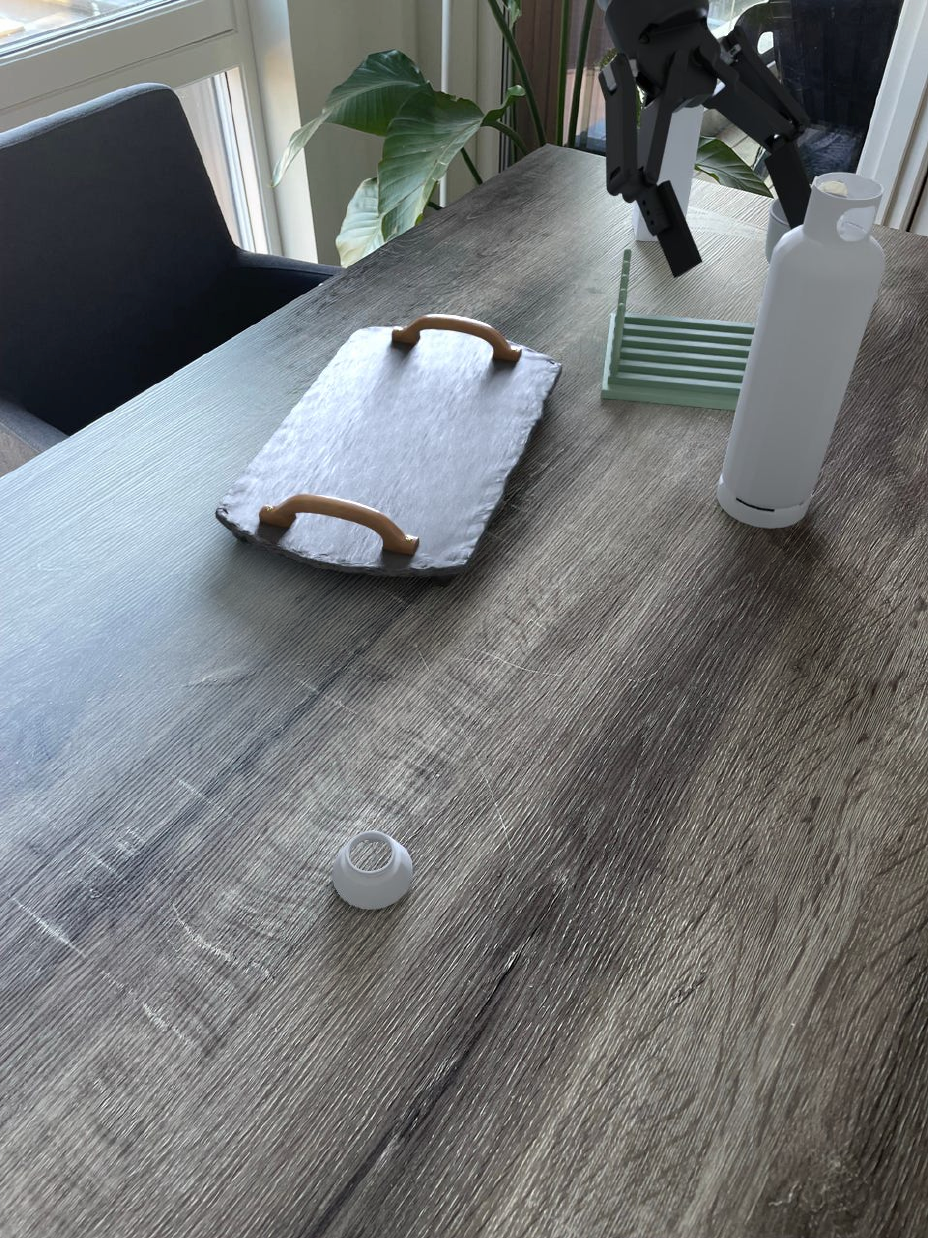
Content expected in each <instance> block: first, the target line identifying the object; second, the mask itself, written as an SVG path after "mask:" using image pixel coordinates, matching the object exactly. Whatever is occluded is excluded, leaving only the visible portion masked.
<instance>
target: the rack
mask: <svg viewBox="0 0 928 1238" xmlns="http://www.w3.org/2000/svg"><path fill="white" fill-rule="evenodd" d="M632 254H633V253H632V249H631V248H629V247H627V248H625V249H624V251H623V255H622V265H621V271H620V272H621V273H620V280H619V281H620V282H619V287H618V289H619V290H618V296H617V297H618V298H617V304H616V305H617V306H616V311H615V312H611V313H610V317H609V326H608V334H607V340H606V341H607V342H606V349H605V359H604V367H603V375H602V384H601V389H600V398H601V399H607V400H617V401H618V400H619V401H629V402H639V403H649V404H650V403H651V404H652V403H653V404H659V405H660V404H661V405H671V406H682V407H692V408H702V409H703V408H704V409H713V410H724V411H734V412H735V411H736V407H737V403H738V399H739V394H740V390H741V386H742V382H743V377H744V373H745V369H746V364H747V360H748V356H749V352H750V347H751V343H752V339H753V335H754V330H755V326H756V323H752V322H740V321H728V320H716V319H705V318H693V317H681V316H670V315H669V316H668V315H659V314H657V315H656V314H647V313H634V312H627V300H628V289H629V283H630V282H629V281H630V271H631V261H632Z"/></svg>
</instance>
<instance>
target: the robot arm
mask: <svg viewBox="0 0 928 1238" xmlns="http://www.w3.org/2000/svg"><path fill="white" fill-rule="evenodd" d="M595 1H596V3H597V4H598V7H599V8H600V10H601V11H603V12H605V14H604V20H603V21H604V24H605V26H606V29H607V31H608V34H609V36H610V38H611V41H612V44H613V46H614V49H615V51H616V54H615V55H614V57H612V59H611V60H609V62H608V63H607V64H606V65H605V66H604V67H603V68H602V69H601V71H600V72H599V73H598V75H597V79H598V83H599V87H600V90H601V92H602V96H603V99H604V114H605V115H604V118H605V120H604V121H605V122H604V125H605V176H606V177H605V186H606V191H607V193H608V194H609V195H610V196H612V197H617V196H619V195H621V197H622V200H623V201H624V202H625V203H627V204H634V201H635V200H636V202H637V204H638V206H639V209H640V211H641V214H642V216H643V218H644V221H645V223H646V226H647V228H648V231H649V232H650V233H651V235H652V236H653V237H654V236H657V238H658V241H657V242H658V243H659V245H660V248H661V250H662V252H663V255H664V258H665V260H666V262H667V265H668V268H669V270H670V272H671V274H672V278H673V279H676V278H679V277H681V276H683V275H685V274H686V273H687V272H689V271H691V270H693V269H694V268H696V267H697V266H698V265H700V264H702V263H703V262H704V261H703V259H702V256H701V253H700V251H699V249H698V246H697V244H696V241H695V238H694V237H693V233H692V232H691V229H690V227H689V224H688V221H687V218H686V219H685V217H684V214H683V212H682V209H681V207H680V204H679V202H678V199H677V197H676V194H675V192H674V189H673V187H672V184H671V182H670V180H667V181H664V182H662V183H661V184H659V185H657V182H658V180H659V176H660V171H661V166H662V161H663V156H664V151H665V147H666V142H667V137H668V132H669V127H670V122H671V117H672V113H676V112H678V111H679V110H681V109H682V108H694V107H697V106H699V105H700V104H701V105H702V106H704V109H706V110H715V111H716V112H718V113H719V114H721V115H722V116H723V117H724V118H725V119H727V120H728V121H729V122H730V123H732V124H733V125H734V126H735V127H736V128H737V129H739V130H740V131H741V132H743V133H744V134H745V135H747V136H748V137H749V138H750V139H752V140H753V141H754V142H755V143H756V144H757V145H759V146H761V148H763V149H764V150H765V151H767V152H768V153H769V154H770V155H768V156H767V157H765V158H763V163H764V165H765V167H766V170H767V173H768V175H769V177H770V180H771V183H772V185H773V188H774V191H775V193H776V195H777V199H778V198H779V201H780V203H781V206H782V208H783V211H784V213H785V216H786V219H787V221H788V224H789V226H790V229H791V230H793V229H794V228H796V227H798V226H800V225H803V224H804V220H805V216H806V212H807V208H808V204H809V200H810V196H811V192H812V189H811V186H812V185H811V184H810V181H809V180H810V173H809V170H808V168H807V165H806V162H805V161H804V158H803V155H802V153H801V149H800V148H799V145H798V139H799V138H801V137H802V136H804V135H805V134H806V129H808V128H809V127H810V126H811V119H810V117H809V115H808V113H806V112H805V110H804V109H803V108H802V107H801V105H800V104H799V103H798V102H797V101H796V100H795V98H794V97H793V96H792V95H791V94H790V93H789V91H788V89H787V88H786V87H785V86H784V85H783V84H782V82H781V81H780V80H779V79H778V78H777V76H776V75H775V74H774V73H773V72H772V71H771V69H770V68H769V67H768V65H767V64H766V63H765V62H764V61H763V60H762V58H761V57H760V56H759V55H758V54H757V52H756V51H755V49H754V47H753V46H752V44H751V42H750V40H749V37H748V35H747V33H746V31H745V29H744V27H742V26H741V25H738V24H736V25H735V26H733V27H732V28H731V29H730V30H729V31H728V32H726V33H725V35H722V36H719V37H718V38H717V37H716V36H715V35H714V34H713V32H712V31H711V30H710V28H709V24H708V16H709V11H710V1H709V0H595ZM718 80H719V81H720V83H719V84H718ZM637 87H638V88H639V89H640V91H642V92H643V93H644V94H643V99H642V103H641V108H640V113H639V119H640V120H641V123H640V127H639V132H638V120H637V119H638V110H637V109H638V107H637V106H638V105H637V101H638V100H637ZM789 120H790V121H789ZM773 134H775V135H773Z"/></svg>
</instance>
